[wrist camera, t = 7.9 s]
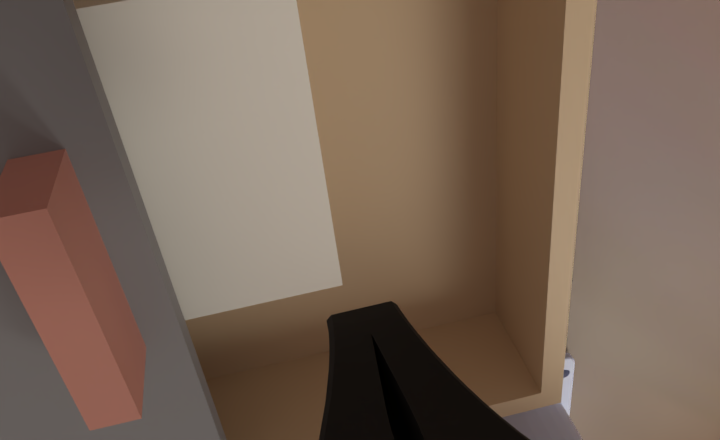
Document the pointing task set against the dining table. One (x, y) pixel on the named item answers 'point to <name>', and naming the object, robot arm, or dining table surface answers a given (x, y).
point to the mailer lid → (81, 257)
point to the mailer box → (356, 182)
